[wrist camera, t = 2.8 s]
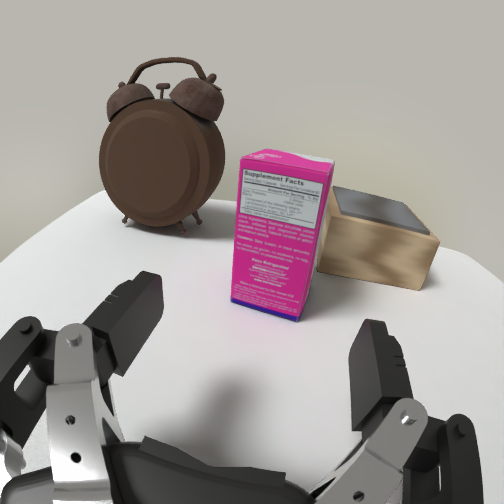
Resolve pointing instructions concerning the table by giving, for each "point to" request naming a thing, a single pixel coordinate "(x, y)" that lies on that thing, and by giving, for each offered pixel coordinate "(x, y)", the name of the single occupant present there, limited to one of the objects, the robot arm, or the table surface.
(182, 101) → the alarm clock
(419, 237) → the pedestal
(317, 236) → the supplement box
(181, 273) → the table surface
